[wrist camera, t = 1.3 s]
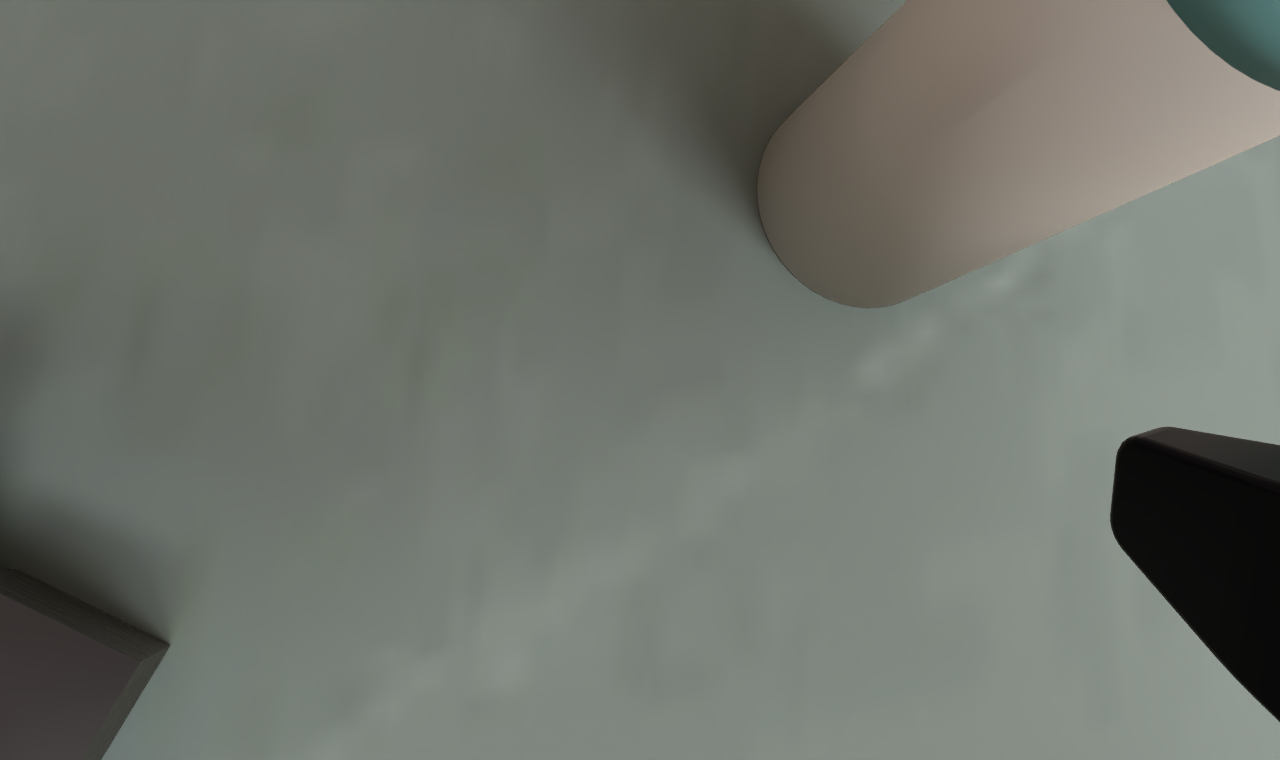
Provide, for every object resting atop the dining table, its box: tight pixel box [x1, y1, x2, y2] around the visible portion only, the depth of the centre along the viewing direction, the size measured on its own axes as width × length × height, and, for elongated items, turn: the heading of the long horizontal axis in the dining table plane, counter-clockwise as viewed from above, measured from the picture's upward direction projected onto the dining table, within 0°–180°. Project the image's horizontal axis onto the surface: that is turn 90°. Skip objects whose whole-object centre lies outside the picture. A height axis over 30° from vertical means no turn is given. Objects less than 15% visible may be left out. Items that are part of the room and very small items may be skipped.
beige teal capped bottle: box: [757, 0, 1280, 308], centre depth 19 cm, size 5×5×13 cm
